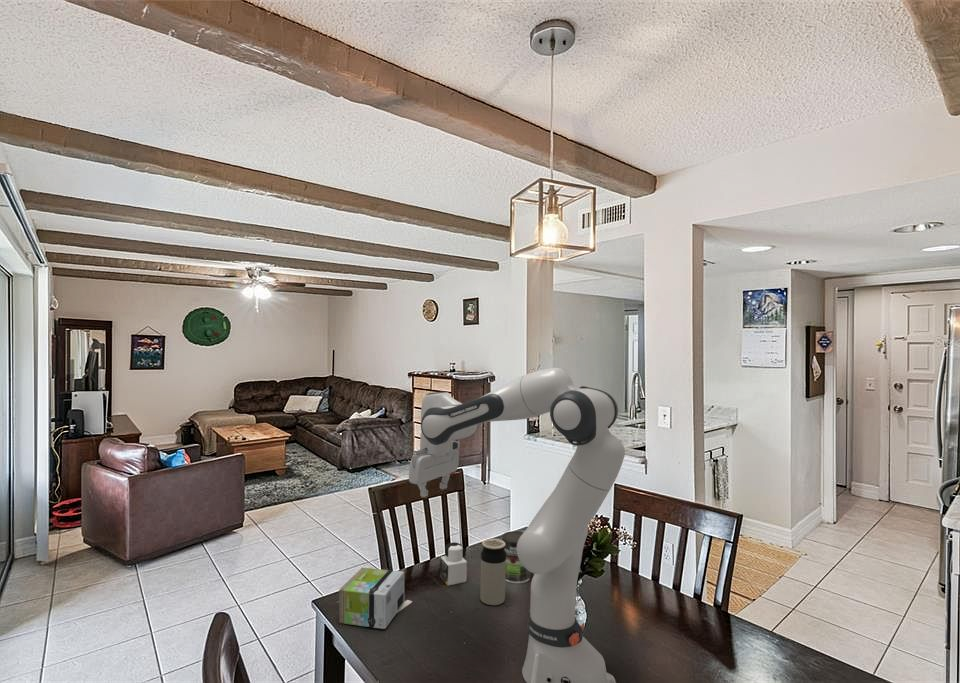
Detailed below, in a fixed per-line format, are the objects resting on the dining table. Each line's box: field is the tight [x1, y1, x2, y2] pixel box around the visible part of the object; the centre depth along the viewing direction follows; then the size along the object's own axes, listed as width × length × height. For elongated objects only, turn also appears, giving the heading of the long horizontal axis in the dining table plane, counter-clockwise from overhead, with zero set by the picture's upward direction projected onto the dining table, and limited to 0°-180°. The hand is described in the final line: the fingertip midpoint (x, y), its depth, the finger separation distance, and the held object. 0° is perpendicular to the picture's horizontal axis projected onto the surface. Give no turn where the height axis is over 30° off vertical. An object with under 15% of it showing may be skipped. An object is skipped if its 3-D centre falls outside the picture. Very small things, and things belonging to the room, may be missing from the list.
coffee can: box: [501, 530, 531, 585], centre depth 171 cm, size 10×10×14 cm
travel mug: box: [479, 538, 506, 606], centre depth 155 cm, size 8×8×18 cm
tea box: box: [338, 567, 405, 630], centre depth 146 cm, size 15×10×15 cm
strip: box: [371, 599, 413, 629], centre depth 146 cm, size 2×17×1 cm, turn 149°
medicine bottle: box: [439, 541, 468, 586], centre depth 168 cm, size 7×7×12 cm
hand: (434, 492), depth 145 cm, fingers open, 8 cm apart
